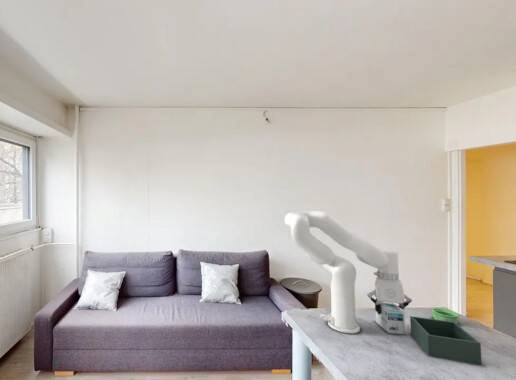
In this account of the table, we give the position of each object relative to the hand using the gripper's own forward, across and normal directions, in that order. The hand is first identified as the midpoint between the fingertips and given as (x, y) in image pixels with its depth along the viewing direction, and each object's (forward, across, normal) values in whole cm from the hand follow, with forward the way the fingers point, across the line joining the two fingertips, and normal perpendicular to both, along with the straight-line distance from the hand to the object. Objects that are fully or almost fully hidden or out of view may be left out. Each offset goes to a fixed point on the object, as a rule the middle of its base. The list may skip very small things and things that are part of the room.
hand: (389, 314), depth 120 cm
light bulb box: (+7, 0, 0) cm, 7 cm away
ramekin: (+7, +26, +17) cm, 32 cm away
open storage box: (+6, +14, -11) cm, 19 cm away
